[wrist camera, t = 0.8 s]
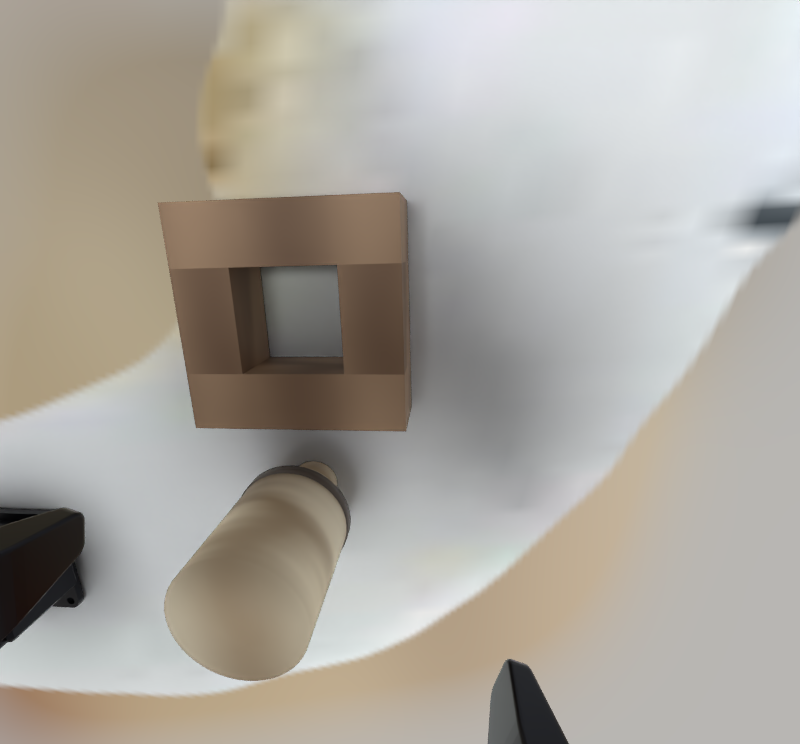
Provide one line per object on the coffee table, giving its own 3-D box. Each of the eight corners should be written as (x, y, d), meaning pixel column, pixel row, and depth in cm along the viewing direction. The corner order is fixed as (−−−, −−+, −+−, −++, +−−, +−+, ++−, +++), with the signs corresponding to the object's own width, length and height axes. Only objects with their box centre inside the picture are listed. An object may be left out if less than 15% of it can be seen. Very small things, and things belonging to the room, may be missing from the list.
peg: (274, 521, 24) (176, 676, 15) (263, 436, 22) (150, 553, 14) (365, 525, 23) (317, 687, 15) (360, 438, 22) (303, 561, 13)
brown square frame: (228, 404, 22) (196, 428, 19) (200, 209, 20) (157, 202, 17) (411, 406, 21) (405, 431, 18) (406, 200, 19) (399, 192, 16)
